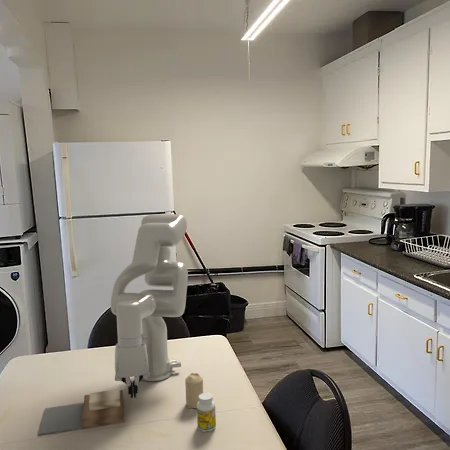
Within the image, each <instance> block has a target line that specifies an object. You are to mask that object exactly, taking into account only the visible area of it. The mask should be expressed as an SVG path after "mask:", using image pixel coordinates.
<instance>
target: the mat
mask: <svg viewBox="0 0 450 450" xmlns="http://www.w3.org/2000/svg"><path fill="white" fill-rule="evenodd" d="M83 404H84V402H80V403H73V404H66V405H60V406H59V405H58V406H51V407H46V408H44V412H43V416H42V419H41V423H40V426H39V431H38V433H37V435H38V437H41V436H45V435H51V434H57V433H58V434H59V433H65V432H69V431H76V430H83V429H82V413H83Z"/></svg>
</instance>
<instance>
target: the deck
mask: <svg viewBox="0 0 450 450" xmlns="http://www.w3.org/2000/svg"><path fill="white" fill-rule="evenodd" d="M89 399H90V394H85V395H84V397H83V403H84V404H83V413H82V429H81V430H83V429H89V428H95V427H96V428H97V427H101V426H107V425H108V426H109V425H114V424H115V425H116V424H119V423H125V422H126V421H125V408H124V407H125V406H124V389H120V406H117V407H111V408H104V409H98V410H91V411H90V409H89Z"/></svg>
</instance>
